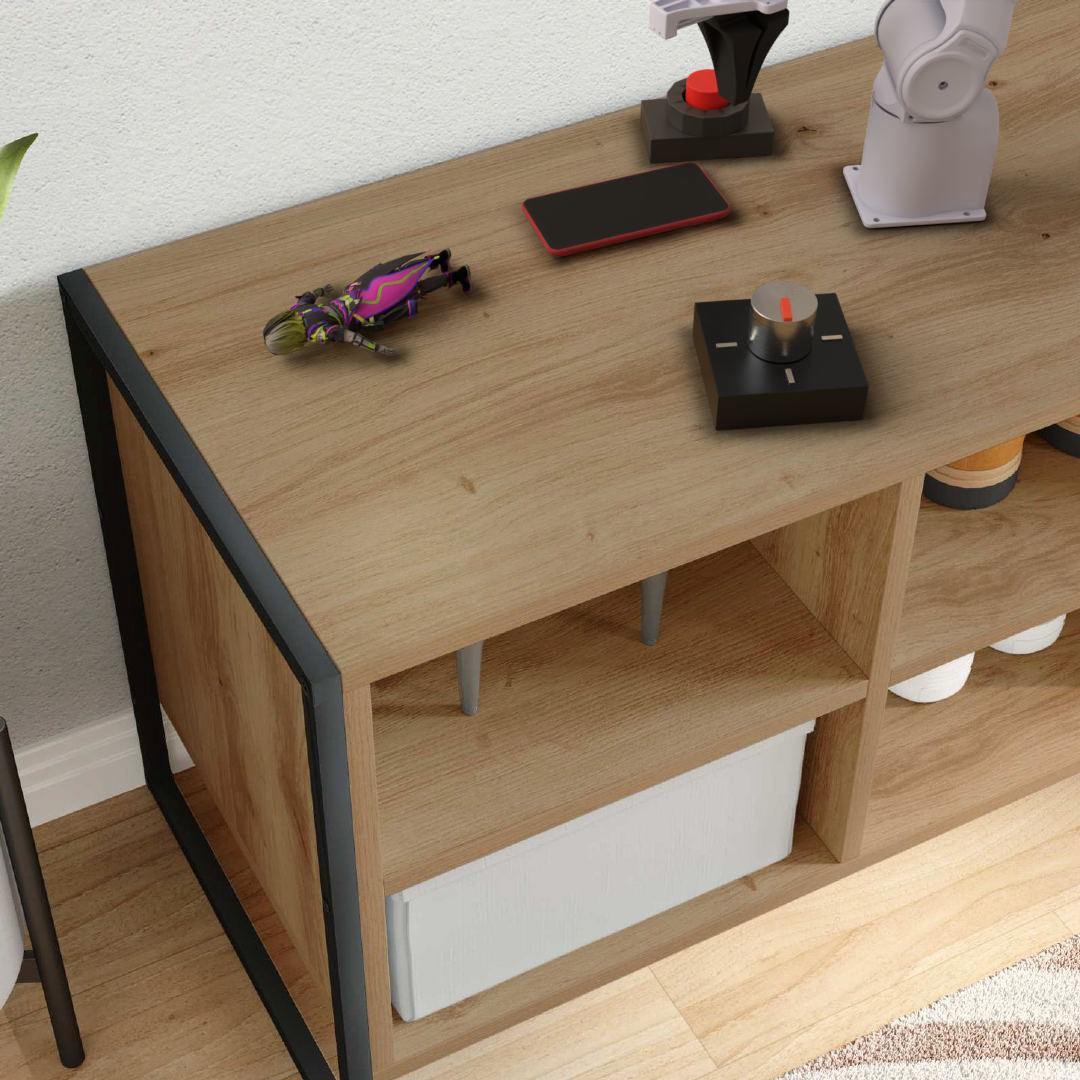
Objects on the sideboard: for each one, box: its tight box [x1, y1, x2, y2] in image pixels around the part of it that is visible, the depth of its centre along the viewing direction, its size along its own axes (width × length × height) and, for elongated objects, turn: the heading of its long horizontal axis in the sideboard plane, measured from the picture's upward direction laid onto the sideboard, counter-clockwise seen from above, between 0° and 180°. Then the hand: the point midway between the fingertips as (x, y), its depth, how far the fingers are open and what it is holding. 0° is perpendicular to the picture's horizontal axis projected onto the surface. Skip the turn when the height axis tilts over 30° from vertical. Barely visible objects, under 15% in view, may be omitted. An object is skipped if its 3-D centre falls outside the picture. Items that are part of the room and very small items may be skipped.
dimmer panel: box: [692, 292, 870, 431], centre depth 108 cm, size 10×10×3 cm
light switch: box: [639, 76, 775, 164], centre depth 128 cm, size 10×6×4 cm, turn 95°
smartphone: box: [521, 161, 732, 258], centre depth 122 cm, size 7×1×15 cm
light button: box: [686, 68, 729, 110], centre depth 126 cm, size 4×4×2 cm
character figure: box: [262, 247, 474, 356], centre depth 112 cm, size 9×4×16 cm
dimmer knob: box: [747, 280, 818, 363], centre depth 105 cm, size 4×4×4 cm
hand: (733, 97), depth 116 cm, fingers closed
